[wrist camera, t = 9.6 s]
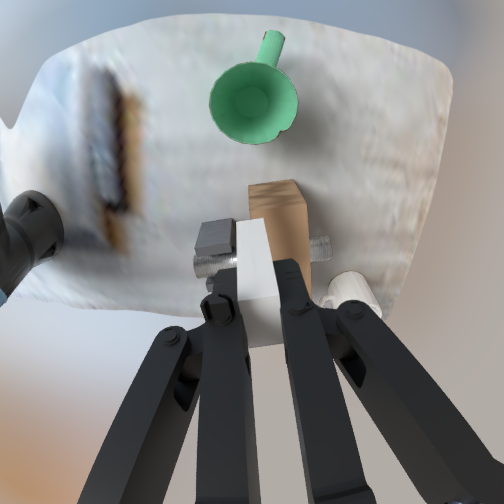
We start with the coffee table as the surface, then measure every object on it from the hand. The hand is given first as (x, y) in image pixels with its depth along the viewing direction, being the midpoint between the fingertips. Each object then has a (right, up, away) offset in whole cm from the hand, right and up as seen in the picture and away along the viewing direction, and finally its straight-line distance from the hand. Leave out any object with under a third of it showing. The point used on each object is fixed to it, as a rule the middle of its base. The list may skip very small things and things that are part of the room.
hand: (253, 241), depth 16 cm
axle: (+1, 0, +27) cm, 27 cm away
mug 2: (+17, -7, +38) cm, 42 cm away
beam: (+4, +2, +31) cm, 31 cm away
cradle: (-5, +1, +32) cm, 32 cm away
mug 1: (+1, +23, +19) cm, 30 cm away
